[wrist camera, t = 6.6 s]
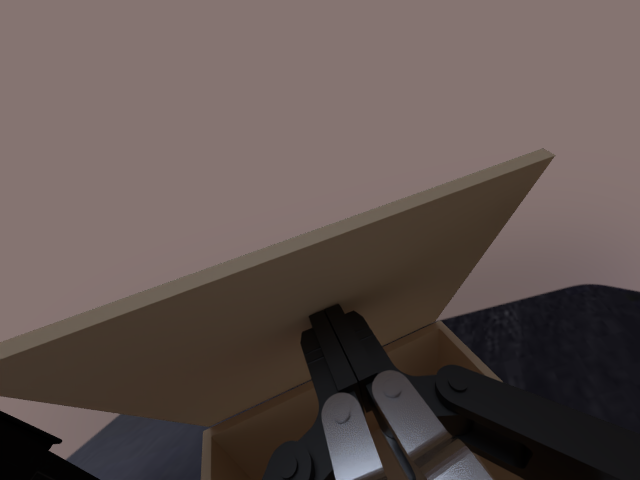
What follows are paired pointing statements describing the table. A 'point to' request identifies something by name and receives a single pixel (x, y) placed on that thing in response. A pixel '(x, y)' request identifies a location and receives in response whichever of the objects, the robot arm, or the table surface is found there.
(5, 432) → the portable radio
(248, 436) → the kraft carton
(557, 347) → the table surface
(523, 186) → the carton flap
